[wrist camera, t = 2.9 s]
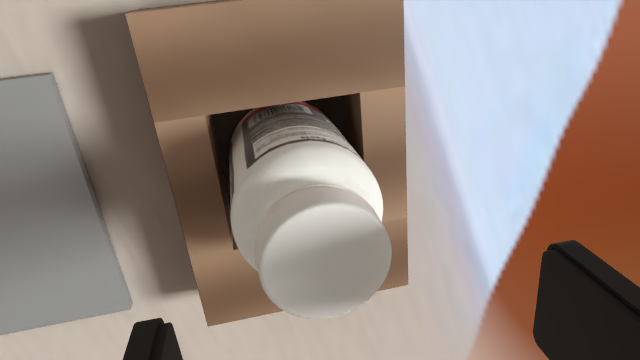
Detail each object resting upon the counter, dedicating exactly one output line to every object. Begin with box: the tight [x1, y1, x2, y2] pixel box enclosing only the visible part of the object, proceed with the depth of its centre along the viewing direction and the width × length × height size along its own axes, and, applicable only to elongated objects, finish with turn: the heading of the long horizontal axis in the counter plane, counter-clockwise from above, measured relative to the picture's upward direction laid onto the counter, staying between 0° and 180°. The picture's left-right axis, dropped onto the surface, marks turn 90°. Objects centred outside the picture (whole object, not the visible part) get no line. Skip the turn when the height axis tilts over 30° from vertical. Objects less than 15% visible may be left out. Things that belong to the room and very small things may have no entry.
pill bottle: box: [229, 101, 392, 319], centre depth 17 cm, size 5×5×10 cm
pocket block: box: [125, 0, 408, 326], centre depth 20 cm, size 14×10×3 cm
